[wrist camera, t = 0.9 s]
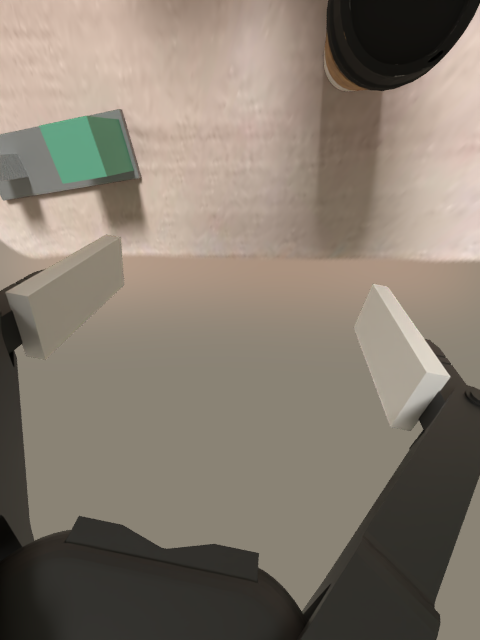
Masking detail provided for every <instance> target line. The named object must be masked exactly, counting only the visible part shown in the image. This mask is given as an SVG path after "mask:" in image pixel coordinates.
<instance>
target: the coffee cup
mask: <svg viewBox="0 0 480 640" xmlns="http://www.w3.org/2000/svg"><path fill="white" fill-rule="evenodd" d="M479 4H480V0H328V7H327V33H326V42H325V50H324V69H325V73H326V75H327V78H328V79H329V81H330V82H331V84H332V85H333V86H334V87H336V88H338V89H339V90H342V91H349V92H351V91H358V90H378V91H384V90H389V89H395V88H398V87H400V86H403V85H405V84H408V83H411V82H413V81H415V80H416V79H418V78H419V77H421V76H423V75H424V74H426V73H427V72H428V71H429V70H430V69H432V68H433V67H434V66H435V65H436V64H437V63H438V62H439V61H440V60H441V59H442V58H443V57H444V56H445V55H446V54H447V53H448V52H449V51H450V50H451V48H452V47H453V46H454V45H455V43H456V42H457V41H458V40H459V38H460V37H461V36H462V34H463V33H464V31H465V30H466V28H467V27H468V25H469V23H470V22H471V20H472V18H473V17H474V15H475V13H476V10H477V8H478V6H479Z"/></svg>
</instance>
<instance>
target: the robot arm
mask: <svg viewBox="0 0 480 640" xmlns="http://www.w3.org/2000/svg"><path fill="white" fill-rule="evenodd" d="M123 286H124V275H123V262H122V249H121V237H116V236H111V235H105V236H103V237H101V238H99V239H98V240H96V241H94V242H92V243H91V244H89V245H87V246H85V247H84V248H82V249H80V250H78V251H77V252H75V253H73V254H71V255H70V256H68V257H66V258H64V259H63V260H61V261H59V262H57V263H56V264H54V265H52V266H51V267H49V268H47V269H44V270H41V271H37V272H34V273H32V274H30V275H28V276H26V277H24V279H21V280H19V281H17V282H16V284H12V285H10V286H9V287H6V288H5V289H3V290H1V291H0V640H436V639H437V636H438V631H439V627H440V614H439V613H438V612H437V611H436V610H435V608H434V604H435V600H436V597H437V594H438V591H439V588H440V585H441V583H442V580H443V577H444V574H445V571H446V568H447V566H448V563H449V560H450V557H451V555H452V552H453V549H454V546H455V543H456V540H457V538H458V535H459V532H460V529H461V526H462V523H463V521H464V518H465V515H466V512H467V510H468V507H469V504H470V501H471V498H472V496H473V492H474V490H475V487H476V484H477V481H478V479H479V476H480V390H479V389H477V388H474V387H471V386H468V385H466V383H465V382H464V381H463V379H462V378H461V377H460V375H459V374H458V373H457V371H456V370H455V369H454V367H453V366H452V365H451V363H450V362H449V360H448V359H447V358H445V355H444V354H443V352H442V351H441V350H440V348H439V347H437V346H436V345H435V344H434V343H432V342H431V341H430V340H427V339H424V338H423V337H422V335H421V334H420V332H419V331H418V329H417V328H416V327H415V325H414V324H413V322H412V321H411V319H410V318H409V316H408V315H407V313H406V312H405V311H404V309H403V308H402V306H401V305H400V303H399V302H398V301H397V299H396V298H395V296H394V295H393V293H392V292H391V291H390V289H389V288H388V287H387V286H382V285H377V284H372V286H371V289H370V291H369V293H368V296H367V298H366V300H365V303H364V305H363V307H362V309H361V312H360V314H359V317H358V319H357V321H356V323H355V326H354V331H355V333H356V336H357V338H358V341H359V344H360V347H361V349H362V352H363V354H364V358H365V360H366V363H367V366H368V368H369V371H370V374H371V377H372V379H373V382H374V385H375V387H376V390H377V393H378V395H379V398H380V401H381V403H382V406H383V409H384V412H385V414H386V417H387V420H388V422H389V425H390V427H392V428H397V429H402V430H407V431H411V430H412V429H413V428H414V426H415V425H416V424H417V422H418V421H420V423H421V425H422V427H423V429H424V430H423V431H422V432H421V434H420V435H419V436H418V438H417V439H416V440H415V441H414V443H413V444H412V445H411V447H410V450H409V452H408V453H407V455H406V456H405V458H404V459H403V461H402V462H401V464H400V465H399V467H398V468H397V470H396V471H395V473H394V475H393V476H392V478H391V479H390V480H389V482H388V484H387V485H386V487H385V488H384V490H383V491H382V493H381V494H380V496H379V497H378V499H377V500H376V502H375V503H374V505H373V506H372V508H371V509H370V511H369V512H368V514H367V516H366V517H365V519H364V520H363V522H362V523H361V525H360V526H359V528H358V529H357V531H356V532H355V534H354V535H353V537H352V538H351V540H350V542H349V543H348V544H347V546H346V548H345V549H344V551H343V552H342V554H341V555H340V557H339V558H338V560H337V561H336V563H335V564H334V566H333V567H332V569H331V570H330V572H329V573H328V575H327V576H326V578H325V579H324V581H323V582H322V584H321V585H320V587H319V588H318V590H317V591H316V592H315V594H314V595H313V596H312V598H311V599H310V601H309V602H308V603H307V605H306V606H305V608H304V610H303V611H301V610H300V608H299V607H298V605H297V604H296V602H295V601H294V600H293V598H292V597H291V596H290V595H289V593H288V592H287V591H286V590H285V588H283V586H282V585H281V584H280V583H278V582H277V581H276V580H275V579H274V578H273V577H272V576H270V575H269V574H268V573H266V572H265V571H263V570H261V569H259V568H258V557H259V553H256V552H251V551H246V550H241V549H236V548H231V547H226V546H221V545H217V544H210V545H200V546H190V547H181V548H172V549H164V548H161V547H159V546H157V545H155V544H154V543H152V542H151V541H149V540H147V539H146V538H144V537H142V536H140V535H139V534H137V533H135V532H133V531H132V530H130V529H129V528H127V527H125V526H123V525H120V524H115V523H111V522H105V521H101V520H96V519H91V518H86V517H82V516H79V517H78V519H77V521H76V522H75V524H74V526H73V528H72V530H66V531H62V532H58V533H53V534H51V535H48V536H45V537H42V538H40V539H38V540H35V541H34V538H33V534H32V530H31V526H30V520H29V508H28V495H27V482H26V469H25V459H24V458H25V457H24V444H23V432H22V419H21V408H20V407H21V406H20V394H19V381H18V369H17V357H16V354H15V352H14V350H15V349H16V348H17V347H18V346H20V345H21V344H22V345H23V348H24V351H25V354H26V356H28V357H33V358H38V359H43V360H46V359H47V358H48V357H49V356H50V355H51V354H52V353H53V352H54V351H55V350H57V348H59V347H60V346H61V345H62V344H63V343H64V342H65V341H66V340H67V339H68V338H69V337H70V336H71V335H72V334H73V333H74V332H75V331H76V330H77V329H79V327H81V326H82V325H83V324H84V323H85V322H86V321H87V320H88V319H89V318H90V317H91V316H92V315H93V314H94V313H95V312H96V311H97V310H98V309H99V308H101V307H102V306H103V305H104V304H105V303H106V302H107V301H108V300H109V299H110V298H111V297H112V296H113V295H114V294H115V293H116V292H117V291H118V290H119V289H120V288H121V287H123Z"/></svg>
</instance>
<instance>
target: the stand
mask: <svg viewBox="0 0 480 640" xmlns="http://www.w3.org/2000/svg"><path fill="white" fill-rule="evenodd" d="M4 154H18V156H19V158H20V160H21V162H22V164H23V166H24V168H25V171H26V173H27V175H28V177H24V178H18V179H13V180H7V181H0V195H1V197H2V199H3V200H9V199H15V198H22V197H28V196H34V195H40V194H46V193H52V192H58V191H64V190H70V189H76V188H82V187H88V186H94V185H100V184H106V183H112V182H118V181H124V180H131V179H137V178H141V174H140V171H139V167H138V164H137V161H136V157H135V154H134V150H133V147H132V143H131V140H130V136H129V133H128V129H127V126H126V123H125V119H124V116H123V112H122V110H121V109H118V110H113V111H108V112H104V113H99V114H94V115H90V116H83V117H78V118H74V119H69V120H64V121H60V122H55V123H50V124H46V125H41V126H38V127H33V128H29V129H24V130H19V131H15V132H10V133H5V134H1V135H0V155H4Z"/></svg>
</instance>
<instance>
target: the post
mask: <svg viewBox="0 0 480 640" xmlns="http://www.w3.org/2000/svg"><path fill="white" fill-rule="evenodd" d="M24 177H28V175H27V173H26V171H25V168H24V166H23V164H22V162H21V160H20V158H19V156H18V154H4V155H0V181H7V180H13V179H18V178H24Z"/></svg>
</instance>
